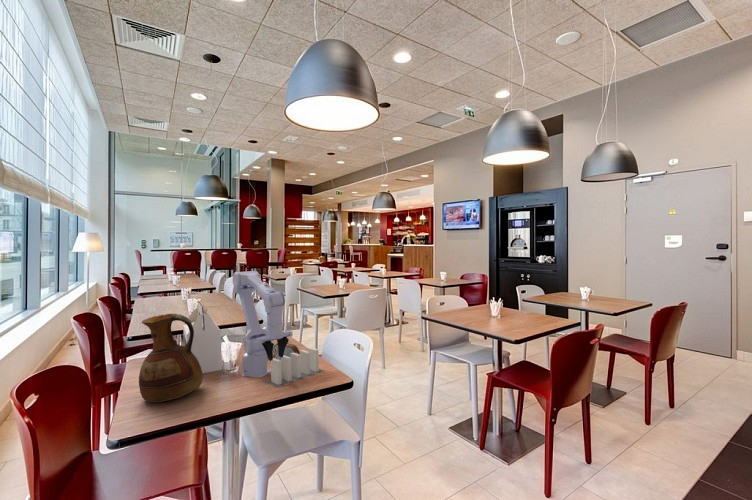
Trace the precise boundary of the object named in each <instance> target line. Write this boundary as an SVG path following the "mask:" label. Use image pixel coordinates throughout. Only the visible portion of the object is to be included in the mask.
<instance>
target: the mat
mask: <svg viewBox="0 0 752 500" xmlns="http://www.w3.org/2000/svg"><path fill="white" fill-rule="evenodd" d="M324 371H325V370H324V369H321V368H319V371H317V372H315V371H313V370H310V374H308V375H306V374H304V373H301V377H300V378H297V377H294V376H292V380H291V381H286V380H284V379H282V384H280V385H277V384H275V383H273V382H271V379H270V380H267V381H265V383H266V384H268V385H269V386H270V385H271V386H272V387H274V388H279V387H282V386H284V385H287V384H290V383H293V382H296V381H298V380H302V379H305V378H307V377H310V376H314V375H316V374H318V373H322V372H324Z"/></svg>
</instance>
